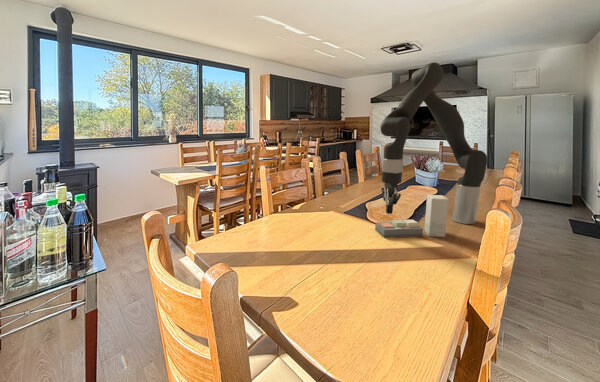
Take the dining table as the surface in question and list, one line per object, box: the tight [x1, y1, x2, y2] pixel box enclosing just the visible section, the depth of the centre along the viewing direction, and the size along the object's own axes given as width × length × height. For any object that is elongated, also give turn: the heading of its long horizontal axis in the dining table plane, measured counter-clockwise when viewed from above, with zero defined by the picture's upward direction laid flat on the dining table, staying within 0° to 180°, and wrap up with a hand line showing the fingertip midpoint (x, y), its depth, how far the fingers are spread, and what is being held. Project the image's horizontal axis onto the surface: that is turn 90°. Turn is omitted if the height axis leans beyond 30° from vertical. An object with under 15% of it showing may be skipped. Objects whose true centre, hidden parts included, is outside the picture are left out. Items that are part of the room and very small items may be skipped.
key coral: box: [380, 223, 394, 228], centre depth 116 cm, size 4×4×2 cm
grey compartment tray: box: [374, 221, 424, 239], centre depth 117 cm, size 16×9×3 cm, turn 97°
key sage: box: [391, 219, 406, 228], centre depth 117 cm, size 4×4×2 cm
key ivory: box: [403, 219, 419, 227], centre depth 117 cm, size 4×4×2 cm
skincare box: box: [423, 194, 450, 238], centre depth 116 cm, size 8×7×16 cm
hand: (389, 213), depth 115 cm, fingers closed
